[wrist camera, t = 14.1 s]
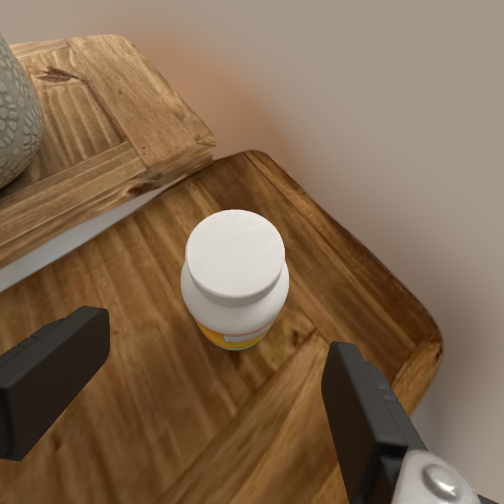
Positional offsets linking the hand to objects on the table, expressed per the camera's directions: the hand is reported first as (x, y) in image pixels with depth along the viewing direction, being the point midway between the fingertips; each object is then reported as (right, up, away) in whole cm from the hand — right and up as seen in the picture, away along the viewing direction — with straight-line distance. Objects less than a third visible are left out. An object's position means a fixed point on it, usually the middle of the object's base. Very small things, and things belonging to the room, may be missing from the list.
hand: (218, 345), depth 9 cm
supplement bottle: (0, -1, +10) cm, 10 cm away
